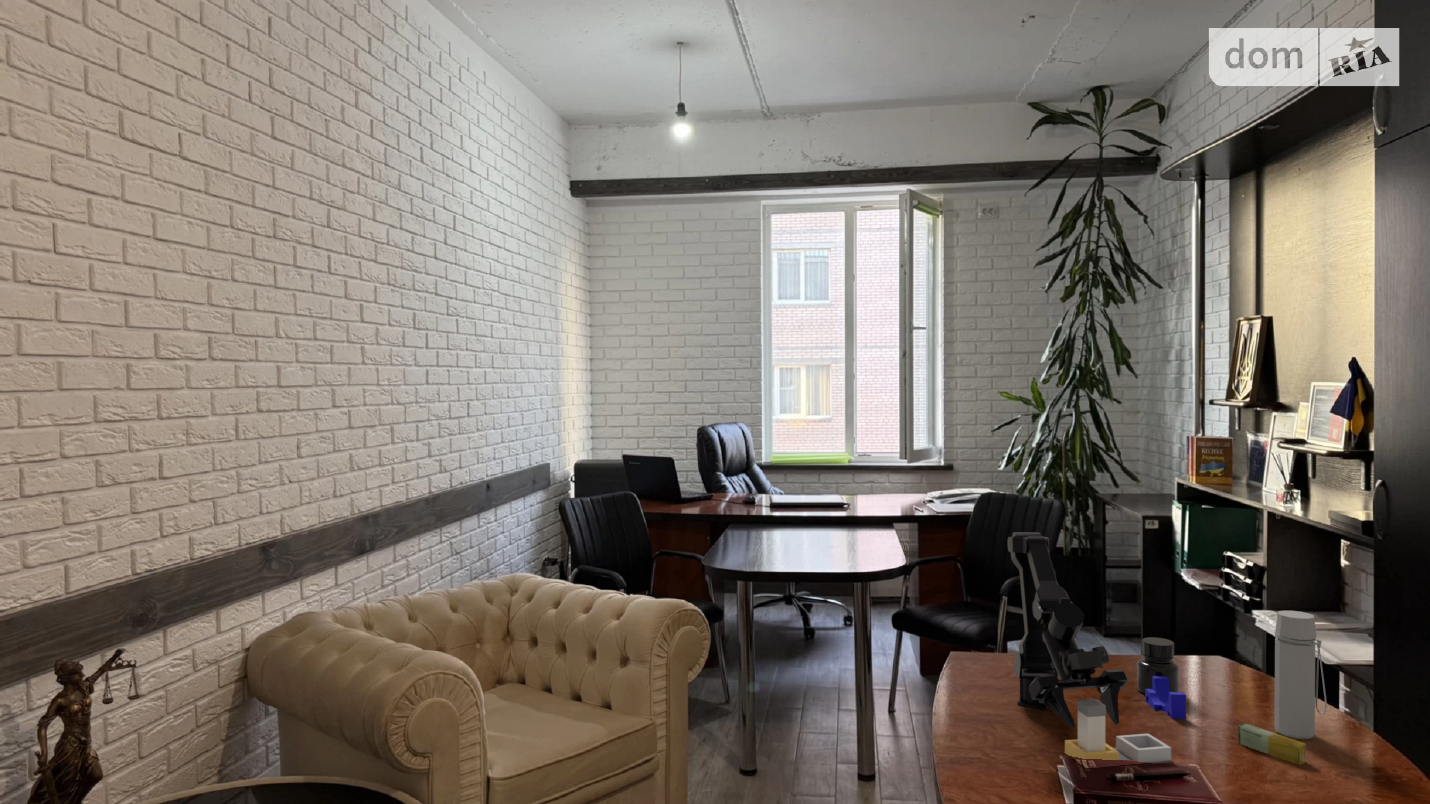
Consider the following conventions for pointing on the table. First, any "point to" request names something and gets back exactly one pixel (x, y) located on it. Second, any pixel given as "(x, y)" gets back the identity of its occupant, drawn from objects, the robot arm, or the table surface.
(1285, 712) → the water bottle
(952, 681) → the table surface
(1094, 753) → the socket board
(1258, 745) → the medication box
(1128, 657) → the table surface
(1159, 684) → the cable clip
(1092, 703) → the white plug
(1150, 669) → the ink bottle
